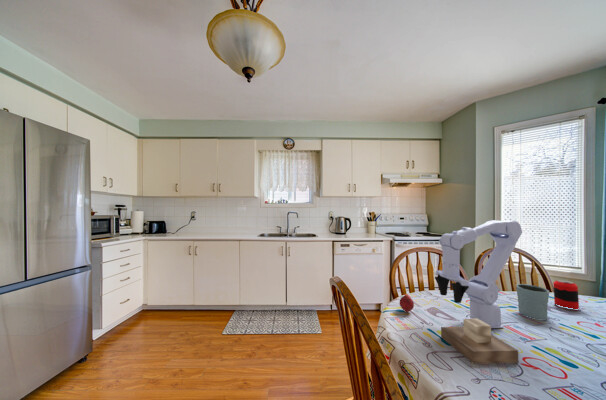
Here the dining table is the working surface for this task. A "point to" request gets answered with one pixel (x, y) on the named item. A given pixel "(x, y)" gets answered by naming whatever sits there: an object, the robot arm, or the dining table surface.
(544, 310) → the green plant pot
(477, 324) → the beech cube
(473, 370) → the dining table surface
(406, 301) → the pomegranate
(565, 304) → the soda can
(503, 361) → the walnut block
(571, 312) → the dining table surface
